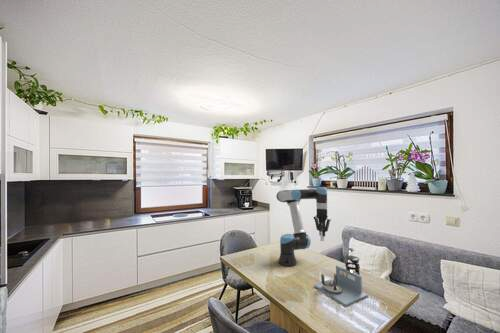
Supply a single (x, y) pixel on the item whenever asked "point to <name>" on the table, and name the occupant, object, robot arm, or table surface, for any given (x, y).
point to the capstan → (332, 285)
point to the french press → (353, 263)
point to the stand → (346, 287)
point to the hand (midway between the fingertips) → (322, 240)
